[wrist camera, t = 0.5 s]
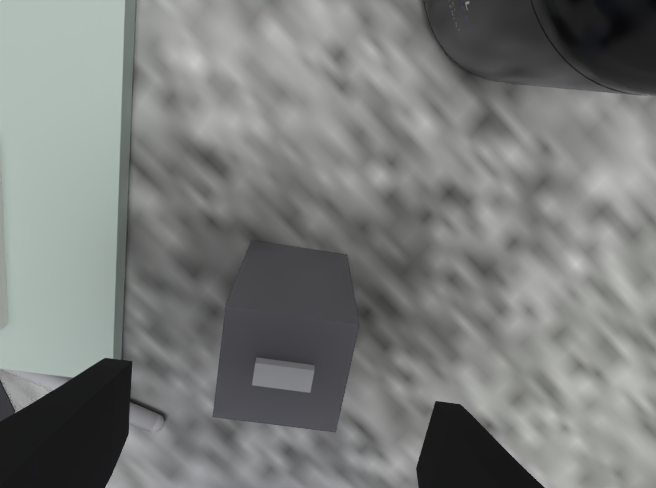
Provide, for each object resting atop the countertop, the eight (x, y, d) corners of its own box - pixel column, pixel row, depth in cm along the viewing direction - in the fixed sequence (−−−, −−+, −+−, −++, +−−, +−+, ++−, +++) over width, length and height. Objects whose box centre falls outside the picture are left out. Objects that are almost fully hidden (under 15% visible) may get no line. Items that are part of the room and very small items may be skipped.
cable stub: (169, 414, 22) (164, 426, 22) (162, 426, 23) (156, 438, 22) (-20, 333, 21) (-33, 343, 20) (-26, 347, 21) (-38, 357, 20)
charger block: (330, 337, 21) (336, 438, 15) (240, 325, 21) (210, 423, 15) (346, 254, 20) (360, 329, 14) (251, 240, 20) (223, 310, 14)
